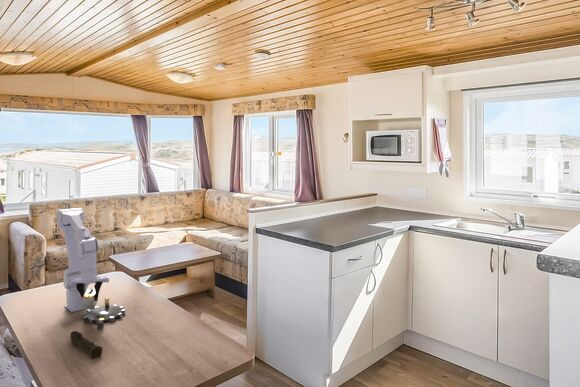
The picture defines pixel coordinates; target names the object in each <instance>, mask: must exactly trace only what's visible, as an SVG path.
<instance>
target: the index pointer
mask: <svg viewBox="0 0 580 387" xmlns="http://www.w3.org/2000/svg"><path fill="white" fill-rule="evenodd" d="M104 323H105V322H103V320H98V321H97V322H96V330H103V329H104V325H105V324H104Z"/></svg>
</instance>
